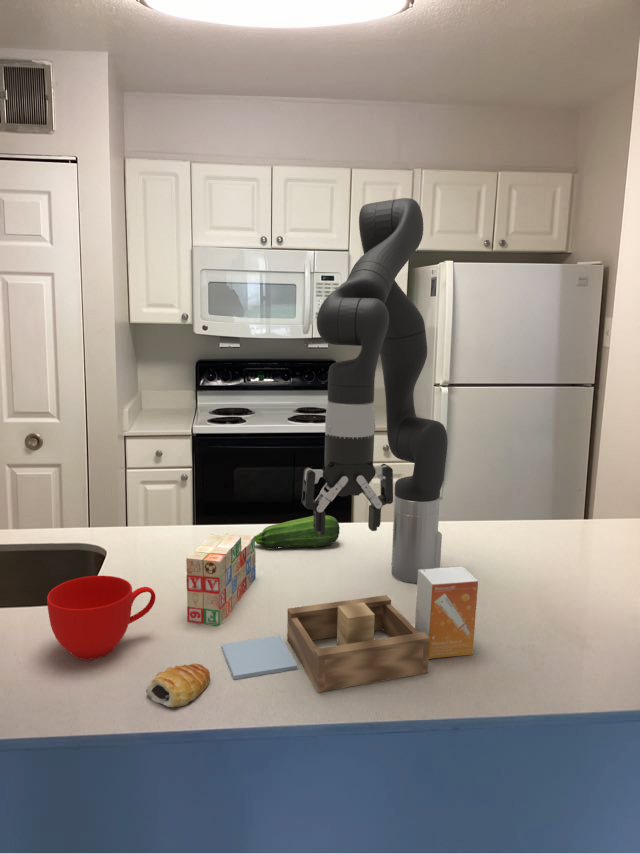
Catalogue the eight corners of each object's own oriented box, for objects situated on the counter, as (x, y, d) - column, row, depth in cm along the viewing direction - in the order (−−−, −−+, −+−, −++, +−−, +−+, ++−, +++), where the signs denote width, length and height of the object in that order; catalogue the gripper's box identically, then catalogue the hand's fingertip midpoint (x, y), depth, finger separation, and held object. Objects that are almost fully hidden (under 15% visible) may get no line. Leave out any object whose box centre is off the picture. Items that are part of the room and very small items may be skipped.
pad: (280, 638, 116) (280, 635, 116) (297, 668, 107) (297, 665, 107) (221, 647, 113) (221, 644, 113) (233, 679, 103) (233, 675, 103)
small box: (427, 660, 110) (431, 584, 107) (413, 641, 116) (416, 568, 113) (474, 655, 112) (479, 580, 109) (458, 636, 118) (462, 565, 115)
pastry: (189, 670, 106) (188, 647, 105) (222, 684, 103) (222, 661, 102) (142, 698, 99) (142, 674, 98) (176, 715, 95) (175, 690, 94)
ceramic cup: (167, 651, 111) (166, 594, 109) (57, 678, 103) (53, 616, 101) (145, 619, 122) (144, 566, 120) (44, 640, 114) (41, 584, 112)
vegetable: (340, 511, 158) (253, 515, 154) (342, 543, 156) (254, 548, 153) (335, 516, 165) (251, 520, 161) (337, 547, 163) (252, 551, 160)
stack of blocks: (227, 575, 142) (226, 518, 140) (256, 578, 141) (256, 521, 138) (186, 622, 121) (185, 556, 119) (220, 626, 120) (219, 560, 118)
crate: (385, 625, 121) (386, 595, 120) (427, 672, 106) (429, 638, 105) (287, 640, 115) (287, 608, 114) (317, 692, 100) (318, 655, 99)
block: (362, 647, 114) (363, 602, 112) (373, 661, 109) (374, 614, 108) (336, 651, 112) (337, 606, 111) (346, 665, 108) (347, 618, 106)
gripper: (384, 424, 110) (380, 521, 113) (298, 427, 107) (297, 527, 110) (402, 433, 103) (397, 536, 106) (310, 436, 99) (308, 543, 102)
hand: (346, 531), depth 108 cm, fingers open, 8 cm apart
